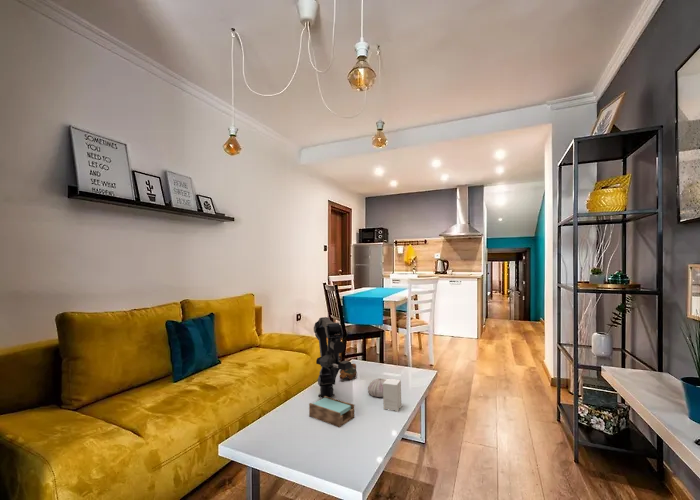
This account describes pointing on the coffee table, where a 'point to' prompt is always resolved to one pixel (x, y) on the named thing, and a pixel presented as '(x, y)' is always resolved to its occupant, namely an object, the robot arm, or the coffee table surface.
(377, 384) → the sea urchin shell
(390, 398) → the supplement box
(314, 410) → the brown wooden box
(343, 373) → the decorative turtle
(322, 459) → the coffee table surface
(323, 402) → the cover plate
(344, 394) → the coffee table surface
